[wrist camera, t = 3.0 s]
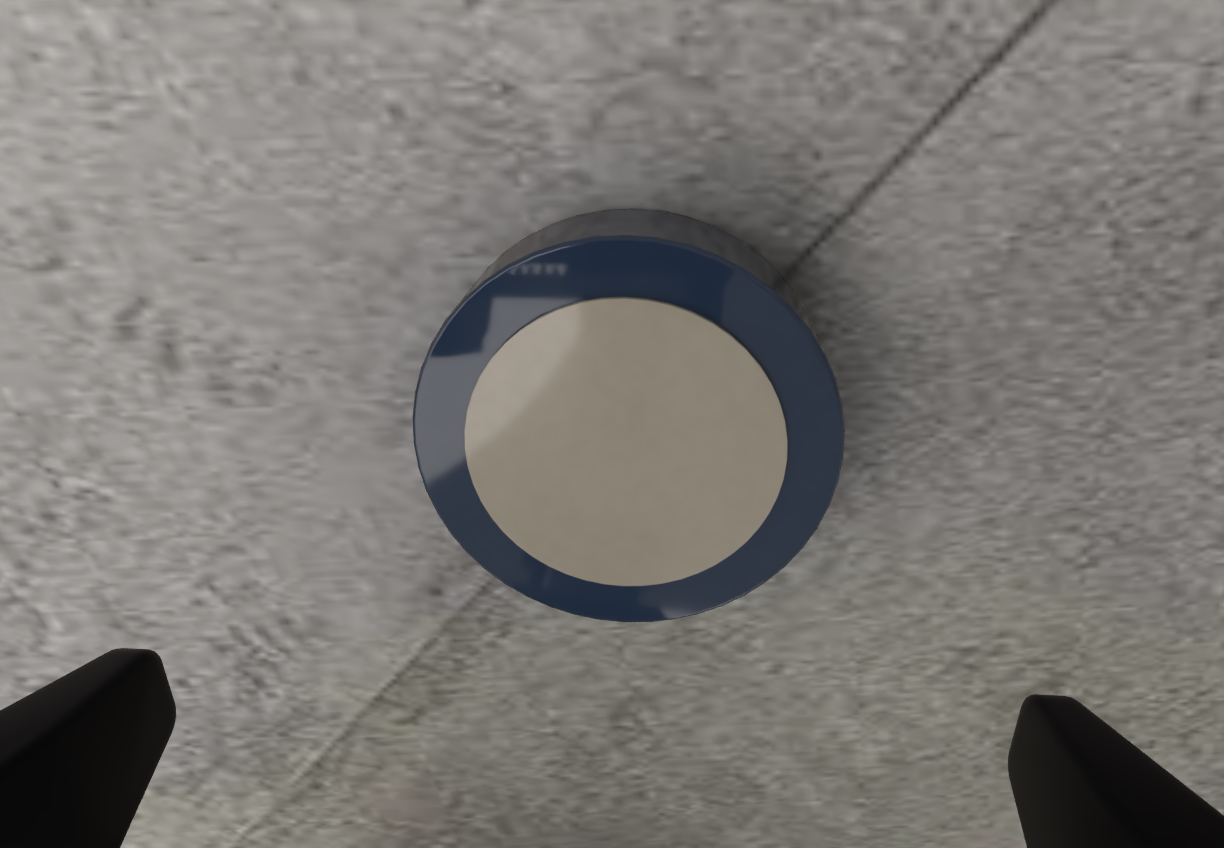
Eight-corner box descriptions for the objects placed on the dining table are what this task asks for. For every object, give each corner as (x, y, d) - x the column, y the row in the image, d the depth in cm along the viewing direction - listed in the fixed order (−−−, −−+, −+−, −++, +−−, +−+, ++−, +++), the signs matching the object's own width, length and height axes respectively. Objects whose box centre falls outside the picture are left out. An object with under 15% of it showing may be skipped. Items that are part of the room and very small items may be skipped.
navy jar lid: (848, 210, 14) (874, 241, 12) (806, 567, 17) (821, 637, 15) (425, 205, 14) (384, 233, 12) (459, 552, 17) (431, 617, 15)
